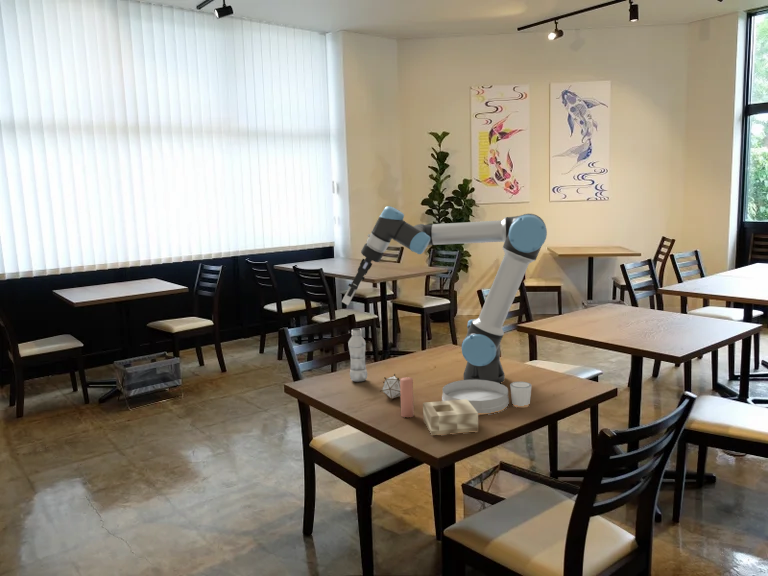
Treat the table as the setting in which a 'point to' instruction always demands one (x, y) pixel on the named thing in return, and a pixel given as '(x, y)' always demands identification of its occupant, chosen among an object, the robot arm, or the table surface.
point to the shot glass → (520, 393)
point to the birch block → (450, 416)
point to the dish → (478, 394)
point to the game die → (391, 387)
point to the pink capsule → (406, 397)
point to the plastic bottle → (357, 356)
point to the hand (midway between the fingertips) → (347, 298)
